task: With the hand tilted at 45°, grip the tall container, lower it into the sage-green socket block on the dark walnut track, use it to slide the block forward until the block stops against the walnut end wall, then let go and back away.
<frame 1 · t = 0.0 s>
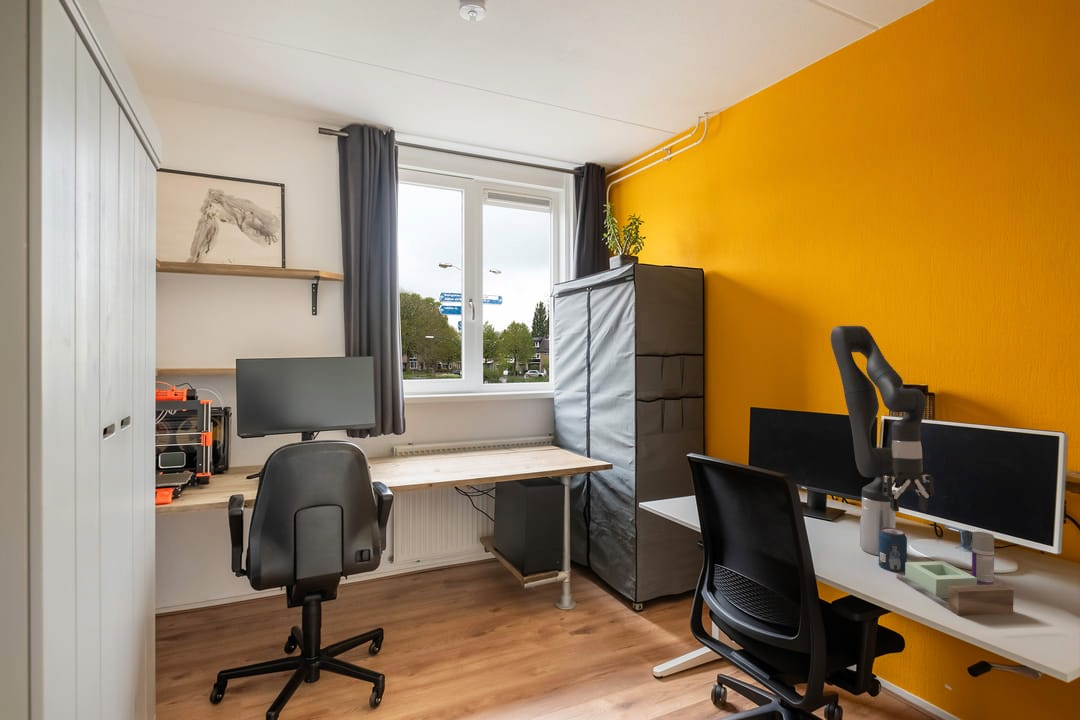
hand: (909, 510, 163), 17 cm above the table, tool pointing down, fingers open, 8 cm apart
socket block: (939, 579, 147), point 4 cm above the table, slide at 0.0 cm
container: (982, 589, 149), on the table
walnut track: (953, 600, 143), on the table
soda can: (892, 571, 161), on the table
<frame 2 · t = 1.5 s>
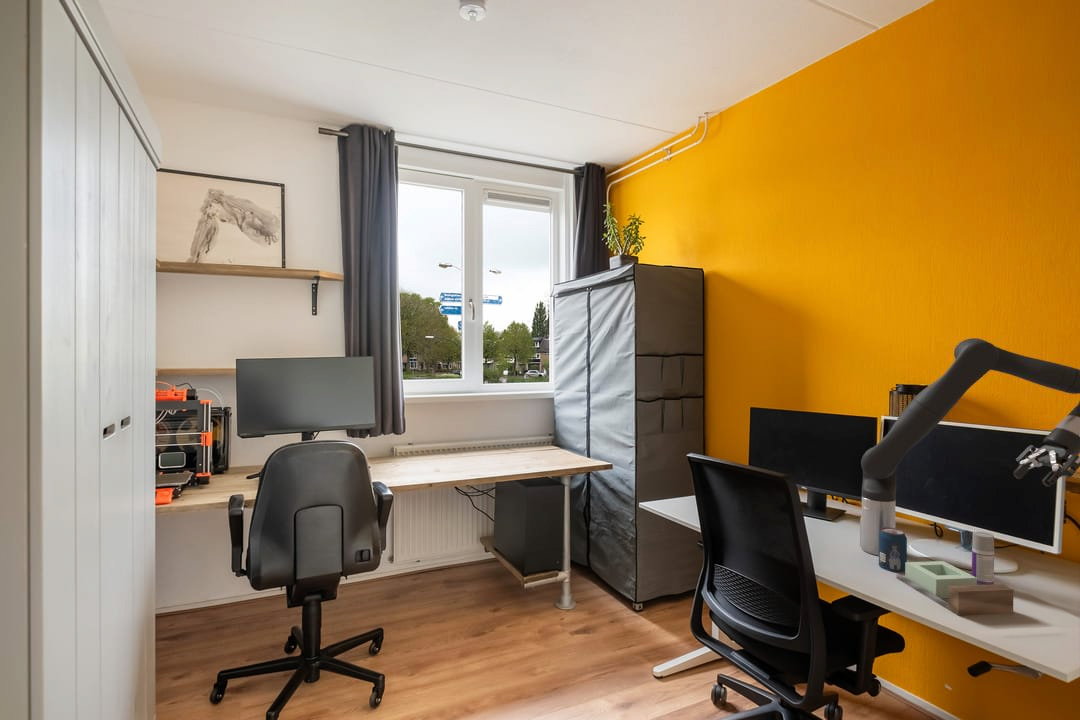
hand: (1030, 480, 148), 29 cm above the table, tool tilted 45°, fingers open, 8 cm apart
nothing on the table moved.
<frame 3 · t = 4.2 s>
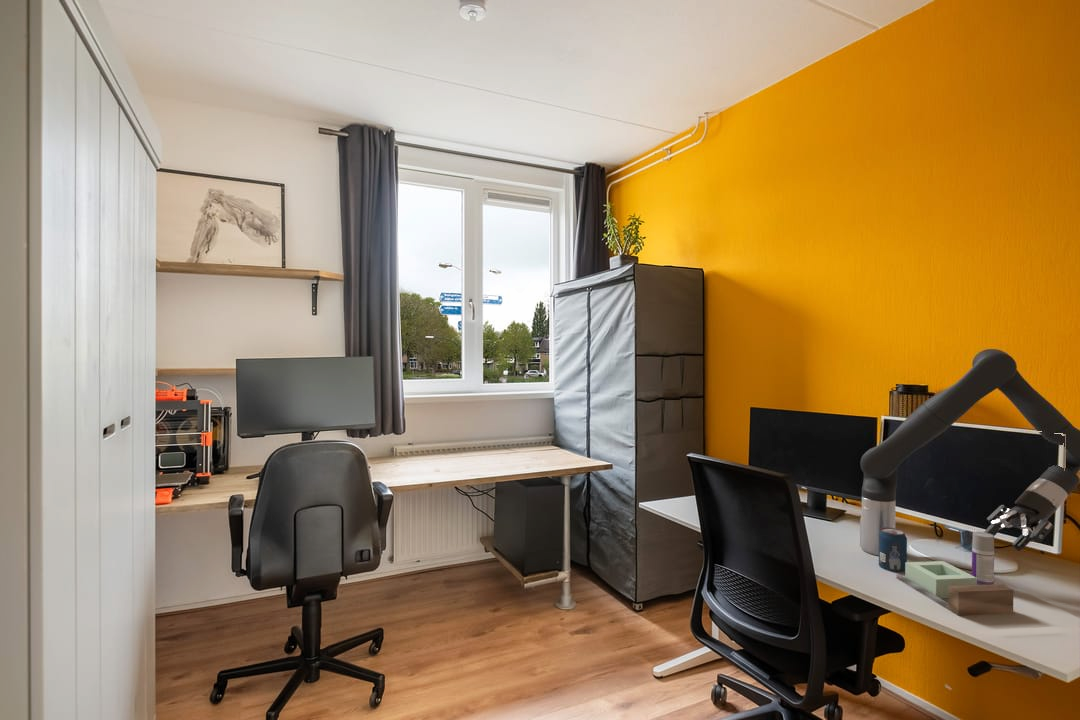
hand: (1000, 542, 149), 13 cm above the table, tool tilted 45°, fingers open, 8 cm apart
nothing on the table moved.
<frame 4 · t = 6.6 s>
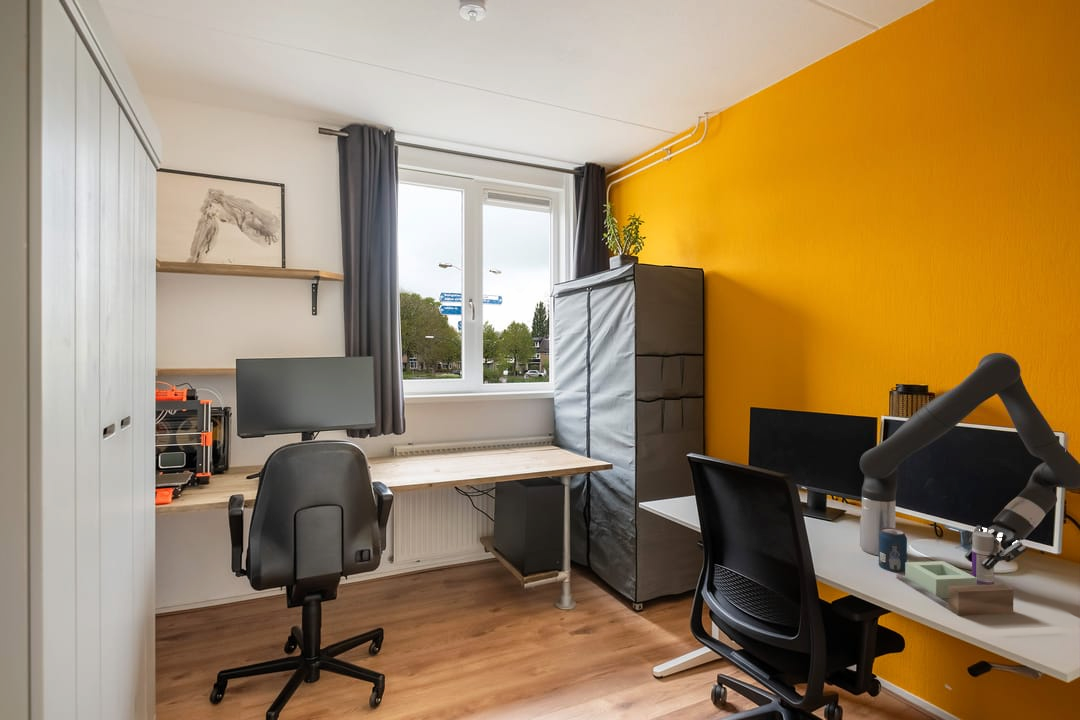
hand: (976, 563, 149), 7 cm above the table, tool tilted 45°, fingers closed on container, 4 cm apart
container: (982, 589, 149), on the table, touching gripper
everything else where it was.
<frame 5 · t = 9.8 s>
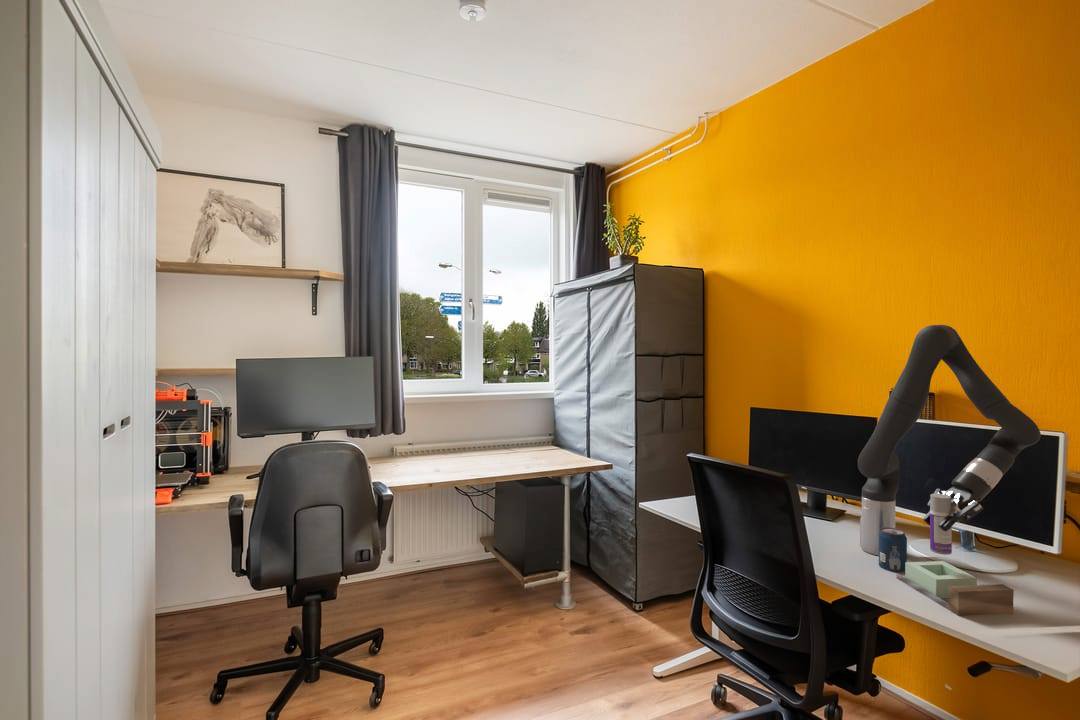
hand: (934, 525, 147), 18 cm above the table, tool tilted 45°, fingers closed on container, 4 cm apart
container: (940, 552, 147), point 11 cm above the table, touching gripper
everything else where it was.
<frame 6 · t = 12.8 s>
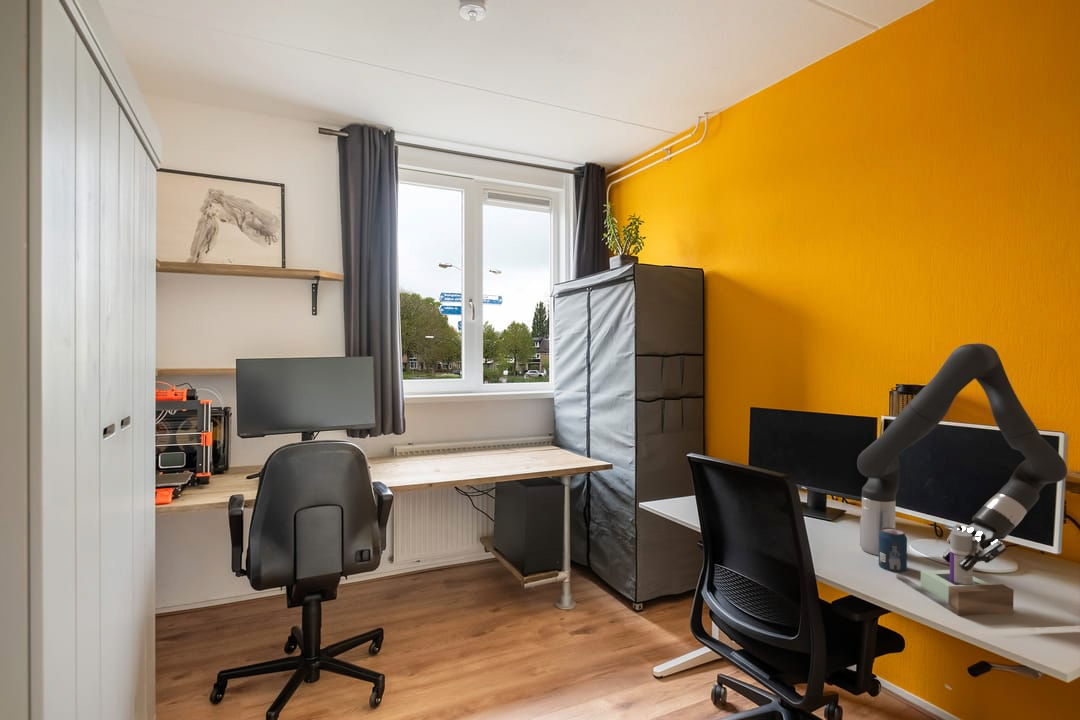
hand: (954, 564, 140), 10 cm above the table, tool tilted 45°, fingers closed on container, 4 cm apart
socket block: (957, 588, 142), point 4 cm above the table, slide at 5.7 cm, touching container
container: (960, 591, 141), point 3 cm above the table, touching gripper, socket block
everything else where it was.
when the fingers open (10 cm above the table, at t = 13.2 s): container drops 1 cm, resting on socket block.
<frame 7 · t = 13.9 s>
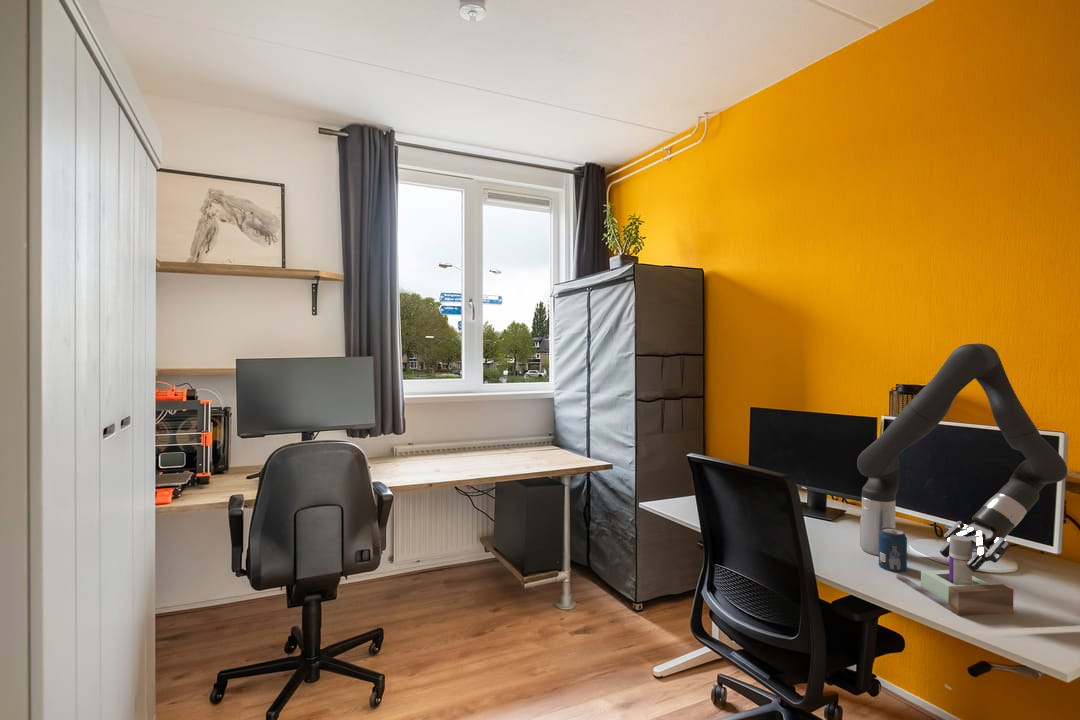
hand: (955, 561, 140), 11 cm above the table, tool tilted 45°, fingers open, 8 cm apart
container: (960, 596, 141), point 2 cm above the table, touching socket block
everything else where it was.
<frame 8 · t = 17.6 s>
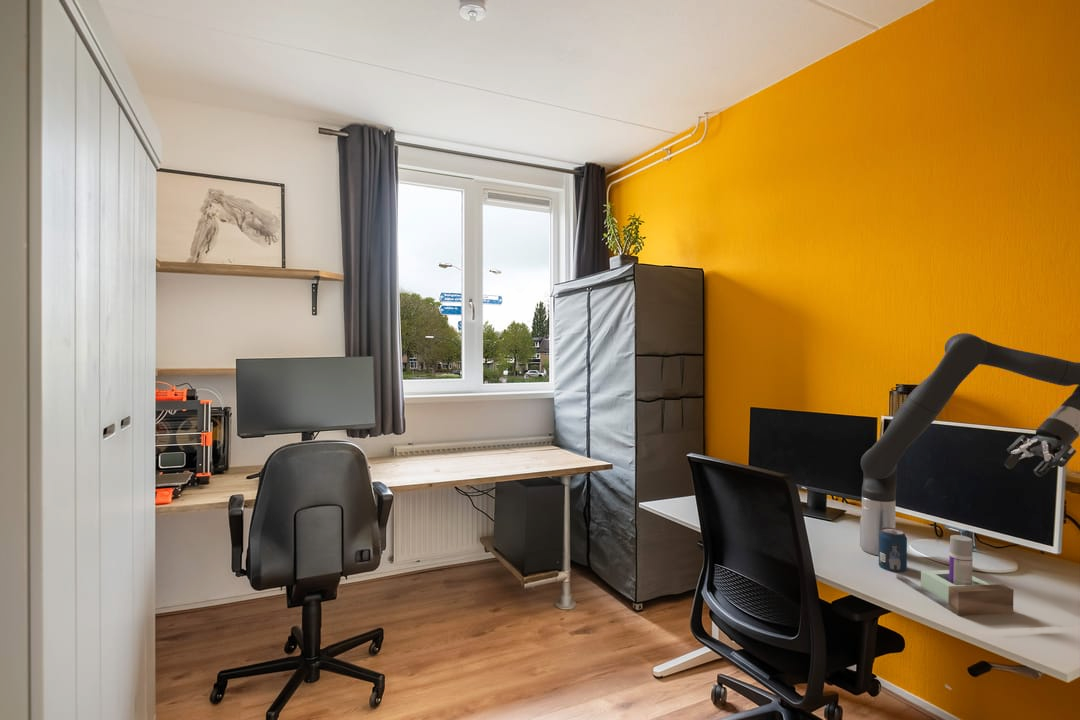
hand: (1021, 470, 147), 33 cm above the table, tool tilted 45°, fingers open, 8 cm apart
nothing on the table moved.
at the end: container 0.3 cm from the target spot, point 1.9 cm above the table; socket block slide at 5.8 cm; container tilted 0° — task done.
